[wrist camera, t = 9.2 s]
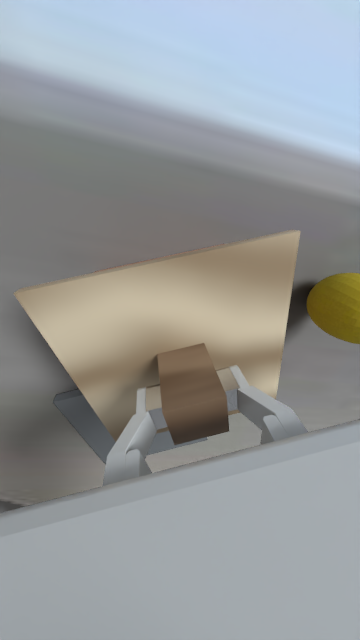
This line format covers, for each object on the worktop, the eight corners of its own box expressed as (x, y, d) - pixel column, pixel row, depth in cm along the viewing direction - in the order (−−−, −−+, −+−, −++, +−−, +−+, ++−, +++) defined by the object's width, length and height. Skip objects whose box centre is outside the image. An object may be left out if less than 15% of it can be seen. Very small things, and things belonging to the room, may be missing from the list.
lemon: (279, 307, 21) (345, 357, 14) (310, 256, 18) (409, 287, 11) (318, 317, 22) (394, 366, 15) (351, 271, 20) (460, 306, 13)
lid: (271, 397, 17) (307, 453, 13) (117, 436, 17) (109, 506, 13) (292, 229, 10) (386, 245, 6) (20, 288, 9) (-68, 347, 6)
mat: (205, 433, 31) (207, 439, 30) (107, 458, 31) (106, 465, 30) (192, 362, 23) (194, 368, 22) (56, 394, 22) (52, 402, 21)
